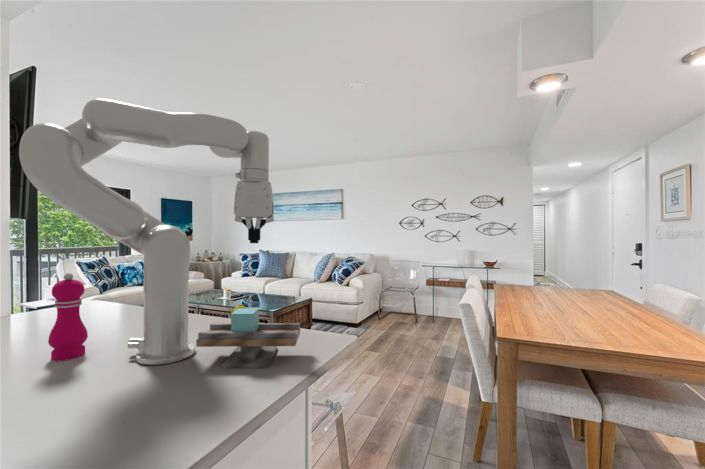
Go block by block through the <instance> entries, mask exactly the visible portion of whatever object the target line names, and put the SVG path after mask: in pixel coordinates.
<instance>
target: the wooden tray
mask: <svg viewBox="0 0 705 469" xmlns="http://www.w3.org/2000/svg"><path fill="white" fill-rule="evenodd" d="M300 335H301V325H300V322H297V323H296V322H291V323H290V322H287V323H286V322H283V323H281V322H279V323H277V322H274V323H267V322H266V323H265V322H263V323H260V322H259V329H258V330H257V331H256V332H231V322H229V323H227V322H226V323H220V322H219V323H210V324H209V329H208V330H207V331H200V332H198V334H197V336H198V337H197V339H196V341H195V345H196V347H195V348H197V347H198V348H201V347H203V348H204V347H205V348H208V347H209V348H211V347H213V348H215V347H216V348H217V347H218V348H219V347H236V348H235V349H234V350H233V351H232V352H231V353H230V354H229V356H228V357H227V358H226V359H225V360H224V361H223V363H222V364H221V369H268V368H269V366H270V364H271V361H272V360H273V358H274V356H275V354H276V352H277V350H278V347H295V346H297V342H298V339H299V337H300Z"/></svg>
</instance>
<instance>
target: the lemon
mask: <svg viewBox="0 0 705 469" xmlns="http://www.w3.org/2000/svg"><path fill="white" fill-rule="evenodd" d="M238 308H247V307H246V306H245V305H242V304H241V303H240V304H239V305H237V306H235V307H234V308H233V309H232V310H231V313H230V315H231V314H232V313H233V312H234V311H236V310H237V309H238Z"/></svg>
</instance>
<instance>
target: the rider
mask: <svg viewBox="0 0 705 469" xmlns="http://www.w3.org/2000/svg"><path fill="white" fill-rule="evenodd" d="M259 310H260V309H259V307H258V308H257V307H255V308H253V307H252V308H247V307H246V308H238V309H237V310H236V311H234V312H233V313H232V312H231V313H232V314H231V313H230V323H231V332H256V331H257V330H258V329H259V323H260V322H259V321H260V320H259V319H260V316H259V315H260V312H259Z"/></svg>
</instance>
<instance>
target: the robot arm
mask: <svg viewBox="0 0 705 469" xmlns="http://www.w3.org/2000/svg"><path fill="white" fill-rule="evenodd" d="M269 141H270V140H269V137H268V135H267V134H266V133H264V132H261V131H258V130H248V131H247V129H246V127H245V126H243V124H241V123H240V122H237V121H236V120H233V119H229V118H225V117H221V116H217V115H212V114H206V113H195V112H179V111H178V112H177V111H174V112H172V111H165V110H159V109H155V108H151V107H145V106H142V105H135V104H133V103H132V104H131V103H128V102H127V103H126V102H123V101H118V100H113V99H108V98H95V99H91V100H89V101H88V102H87V103H86V104H85V105H84V106H83V109H82V113H81V118H80V119H79V120H77V121H75V122H74V123H71V124H69V125H67V126H66V127H62V126H60V125H57V124H54V123H46V122H43V123H42V122H41V123H37V124H36V123H35V124H33V125H31V126H29V127H28V128H27V129H26V130H25V131H24V132H23V133H22V136H21V139H20V142H19V145H18V146H19V149H18V157H19V162H20V165H21V168H22V170H23V173H24V174H25V176H26V178H27V179H28V181H30V183H31V184H32V186H33V187H35V189H36V190H38V192H40V193H41V194H42V195H43V196H45V197H46V198H47V199H49V200H50V201H52V202H54V204H57V205H58V206H59V207H61V208H63V209H65V210H66V211H68V212H70V213H71V214H73V215H75V216H77V218H79V219H82V220H83V221H85V222H87V223H88V224H90V225H92V226H93V227H95V228H96V229H98V230H100V232H102V233H103V234H104V235H106V236H108V237H110V238H112V239H114V240H116V241H117V242H119V243H120V244H123V245H125V246H127V247H129V248H130V249H132V250H133V251H135V252H138V253H139V254H141V255H142V256H143V286H142V287H143V337H130V338H129V340H128V343H127V349H137V350H138V351H137V353H136V354H135V361H136V362H137V363H138V364H141V365H148V366H149V365H151V366H152V365H153V366H154V365H155V366H156V365H158V366H159V365H164V364H165V365H166V364H170V363H172V364H173V363H175V362H179V361H182V360H185V359H187V358H190V357H191V356H193V355H194V354H195V352H196V347H195V345H194V344H193V343H190V342H189V273H190V272H189V269H190V262H191V260H190V259H191V243H190V240H189V237H188V236H187V234H186V233H185V232H184V230H182V229H181V228H180V227H177V226H174V225H170V224H166V223H164V222H163V221H161V220H159V219H158V218H156V217H155V216H153V215H151V214H150V213H148V212H147V211H145V210H144V209H143V207H141V205H139V204H138V203H137V202H135V201H133V200H131V199H129V198H127V197H125V196H123V195H122V194H120V193H118V192H117V191H116V190H114V189H112V188H110V187H109V186H107V185H105V184H104V183H103V182H101V181H100V180H98V179H97V178H95V177H94V176H92V175H90V174H89V173H88V172H87V171H86V170H85V169H84V168H83V167H84V166H85V165H87V164H88V163H90V162H91V161H94V160H95V159H97V158H98V157H100V156H102V155H105V154H106V153H107V152H109V151H111V150H112V149H113V148H115V147H116V146H119V145H120V144H121V143H122V142H125V143H133V144H138V145H139V144H140V145H145V146H150V147H156V148H163V149H173V148H179V147H184V146H204V147H205V146H207V147H209V149H210V151H211V152H212V153H213V154H214V155H216V156H217V157H220V158H223V159H224V158H227V159H229V158H230V159H231V158H236V159H237V158H239V159H240V169H239V172H235V175H234V176H235V178H236V179H239V180H238V181H237V182H236V187H235V193H234V203H233V213H234V214H233V215H234V221H235V222H236V223H237V222H238V223H240V224H241V223H242V224H243V225H244V226H245V227H246V229H247V230H248V231H247V232H248V234H247V237H248V239H247V240H248V241H249V243H250V244H259V241H261V229H262V228H263V227H264V226H265V225H266V224H270V223H273V222H275V219H274V210H275V209H274V208H275V207H274V196H273V195H274V194H273V189H272V184H271V183H272V182H270V180H269V167H270V166H269V165H270V164H269V161H270V160H269V159H270V158H269V157H270V156H269V155H270V151H269V150H270V148H269V147H270V146H269V144H270V142H269ZM253 219H256V220H255V226H254V221H253Z"/></svg>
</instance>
